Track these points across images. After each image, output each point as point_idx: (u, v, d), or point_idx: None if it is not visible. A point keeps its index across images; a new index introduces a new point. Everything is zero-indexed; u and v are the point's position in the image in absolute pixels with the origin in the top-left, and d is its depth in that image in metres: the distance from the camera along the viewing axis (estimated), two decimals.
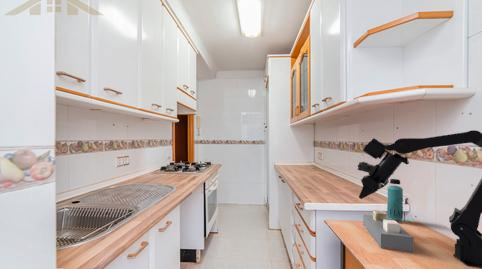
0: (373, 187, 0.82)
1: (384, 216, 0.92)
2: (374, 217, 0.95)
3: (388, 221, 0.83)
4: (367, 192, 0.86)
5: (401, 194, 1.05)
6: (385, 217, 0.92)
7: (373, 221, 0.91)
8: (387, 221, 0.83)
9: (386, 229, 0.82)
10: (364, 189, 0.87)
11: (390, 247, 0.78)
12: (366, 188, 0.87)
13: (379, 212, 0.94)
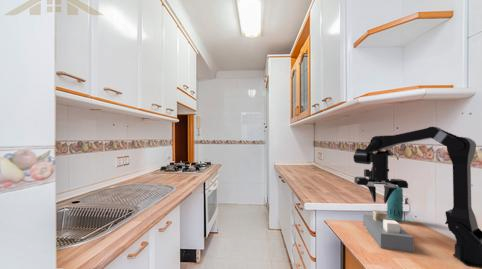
0: (356, 182, 0.95)
1: (384, 216, 0.92)
2: (374, 217, 0.95)
3: (388, 221, 0.83)
4: (372, 192, 0.95)
5: (401, 194, 1.05)
6: (385, 217, 0.92)
7: (373, 221, 0.91)
8: (387, 221, 0.83)
9: (386, 229, 0.82)
10: (370, 191, 0.96)
11: (390, 247, 0.78)
12: (371, 189, 0.96)
13: (379, 212, 0.94)
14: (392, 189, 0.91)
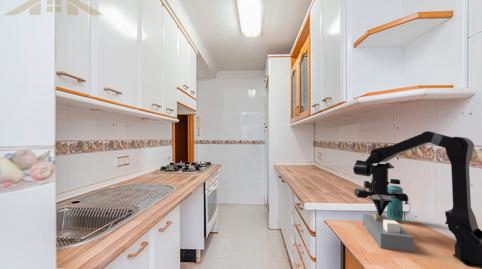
0: (356, 195, 0.95)
1: (384, 219, 0.92)
2: None
3: (388, 221, 0.83)
4: (376, 205, 0.94)
5: None
6: None
7: (373, 221, 0.91)
8: (387, 221, 0.83)
9: (386, 229, 0.82)
10: (375, 204, 0.95)
11: (390, 247, 0.78)
12: (376, 202, 0.95)
13: (379, 215, 0.94)
14: (387, 202, 0.91)
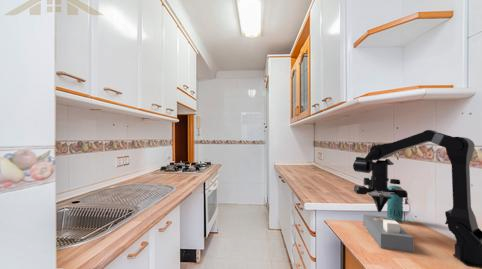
0: (356, 191, 0.95)
1: None
2: None
3: (388, 221, 0.83)
4: (376, 202, 0.94)
5: None
6: None
7: (373, 221, 0.91)
8: (387, 221, 0.83)
9: (386, 229, 0.82)
10: (375, 200, 0.96)
11: (390, 247, 0.78)
12: None
13: (379, 219, 0.94)
14: (387, 198, 0.91)
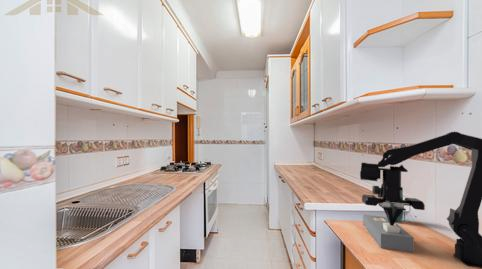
0: (365, 202, 0.84)
1: None
2: None
3: (388, 224, 0.83)
4: (387, 214, 0.82)
5: (401, 194, 1.05)
6: None
7: (373, 221, 0.91)
8: (387, 224, 0.83)
9: None
10: (386, 212, 0.84)
11: (390, 247, 0.78)
12: (387, 210, 0.83)
13: (379, 219, 0.94)
14: (400, 210, 0.80)
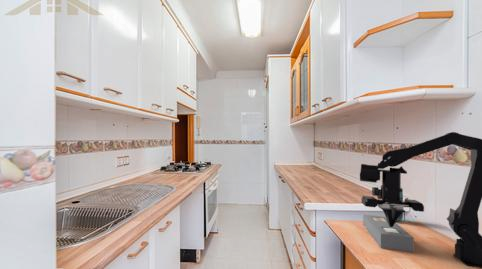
0: (364, 203, 0.84)
1: None
2: None
3: (388, 229, 0.83)
4: (387, 215, 0.82)
5: (401, 194, 1.05)
6: None
7: (373, 221, 0.91)
8: (387, 229, 0.83)
9: None
10: (385, 213, 0.84)
11: (390, 247, 0.78)
12: None
13: (379, 219, 0.94)
14: (400, 212, 0.80)
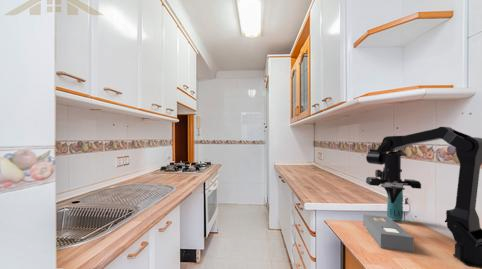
0: (369, 183, 0.95)
1: None
2: None
3: (388, 229, 0.83)
4: (389, 193, 0.94)
5: (401, 194, 1.05)
6: None
7: (373, 221, 0.91)
8: (387, 229, 0.83)
9: None
10: (387, 192, 0.95)
11: (390, 247, 0.78)
12: (388, 190, 0.95)
13: (379, 219, 0.94)
14: (400, 189, 0.91)
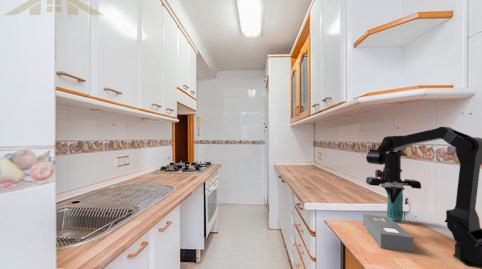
0: (369, 183, 0.95)
1: None
2: None
3: (388, 229, 0.83)
4: (389, 193, 0.94)
5: (401, 194, 1.05)
6: None
7: (373, 221, 0.91)
8: (387, 229, 0.83)
9: None
10: (387, 192, 0.95)
11: (390, 247, 0.78)
12: (388, 190, 0.95)
13: (379, 219, 0.94)
14: (400, 189, 0.91)
